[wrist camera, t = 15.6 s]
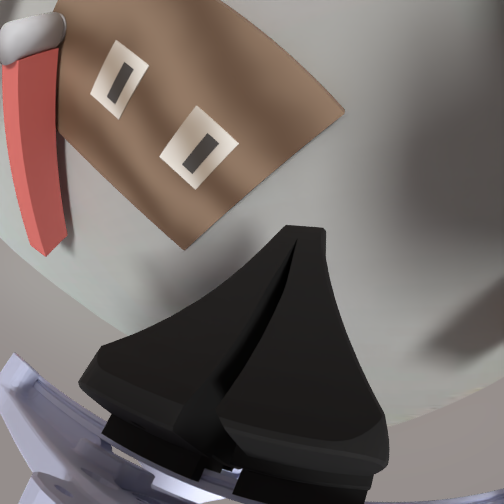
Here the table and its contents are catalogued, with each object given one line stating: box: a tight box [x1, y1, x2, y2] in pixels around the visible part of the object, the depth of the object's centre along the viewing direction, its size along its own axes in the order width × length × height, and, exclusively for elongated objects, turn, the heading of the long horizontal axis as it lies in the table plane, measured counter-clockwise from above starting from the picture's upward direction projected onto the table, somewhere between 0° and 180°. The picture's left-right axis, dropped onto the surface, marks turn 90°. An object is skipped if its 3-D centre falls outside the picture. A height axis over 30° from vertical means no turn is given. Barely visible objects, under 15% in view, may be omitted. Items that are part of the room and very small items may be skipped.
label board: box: [53, 0, 345, 250], centre depth 17 cm, size 17×23×1 cm
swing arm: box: [0, 12, 67, 257], centre depth 19 cm, size 4×25×4 cm, turn 161°
